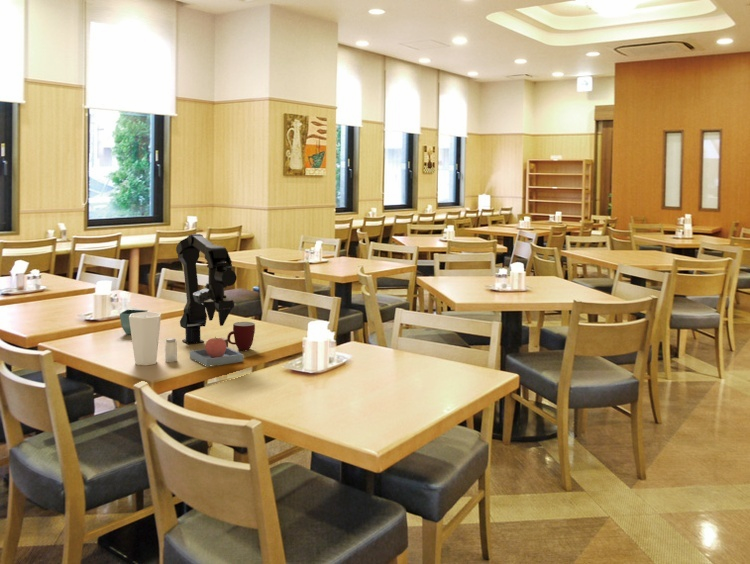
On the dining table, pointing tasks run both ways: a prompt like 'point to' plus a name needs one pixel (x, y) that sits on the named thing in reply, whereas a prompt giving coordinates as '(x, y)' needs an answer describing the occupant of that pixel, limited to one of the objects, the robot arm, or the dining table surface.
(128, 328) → the flower pot
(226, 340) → the walnut block
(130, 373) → the dining table surface
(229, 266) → the robot arm
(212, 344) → the apple
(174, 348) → the white shaker
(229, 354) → the dish
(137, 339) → the cup
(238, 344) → the mug
